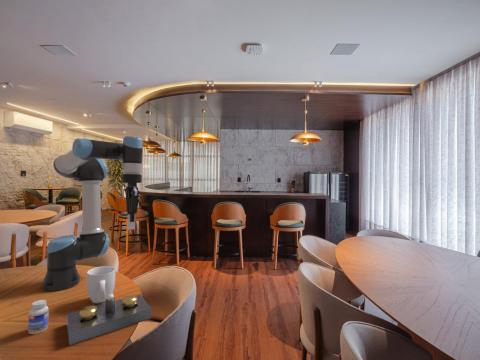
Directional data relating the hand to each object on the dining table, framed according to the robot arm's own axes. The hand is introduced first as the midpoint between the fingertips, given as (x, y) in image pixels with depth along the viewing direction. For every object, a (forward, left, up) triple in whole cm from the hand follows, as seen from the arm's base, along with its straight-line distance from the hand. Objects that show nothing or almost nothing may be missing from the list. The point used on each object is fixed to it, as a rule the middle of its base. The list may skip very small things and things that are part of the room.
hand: (131, 229), depth 104 cm
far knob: (+8, -2, -32) cm, 33 cm away
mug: (-11, -9, -33) cm, 36 cm away
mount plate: (+8, -9, -32) cm, 35 cm away
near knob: (+8, -16, -32) cm, 37 cm away
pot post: (+8, -9, -28) cm, 31 cm away
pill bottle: (-1, -30, -33) cm, 44 cm away
